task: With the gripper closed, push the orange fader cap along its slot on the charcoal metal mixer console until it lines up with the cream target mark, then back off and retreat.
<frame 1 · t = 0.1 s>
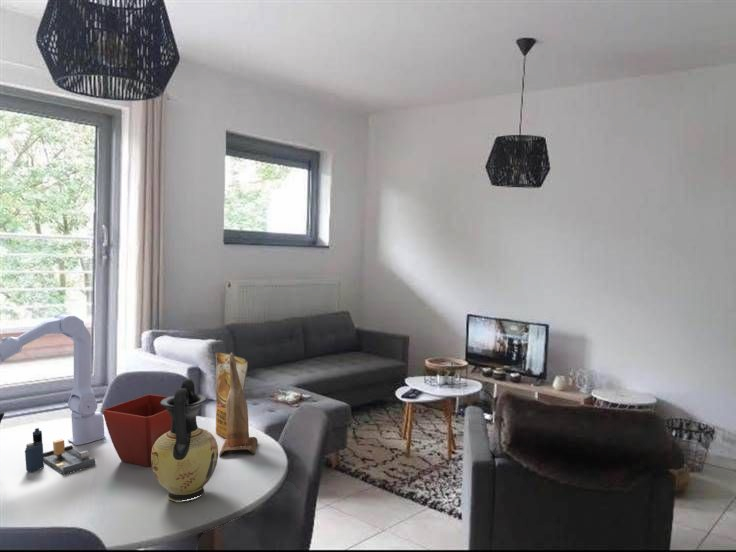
mixer console: (68, 462, 175), on the table
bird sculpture: (239, 450, 182), on the table
pancake mix bag: (230, 435, 196), on the table
plant pot: (151, 457, 178), on the table
amphora: (187, 495, 150), on the table
vaping device: (35, 470, 170), on the table
orange fader: (59, 448, 177), point 4 cm above the table, slide at 0.0 cm
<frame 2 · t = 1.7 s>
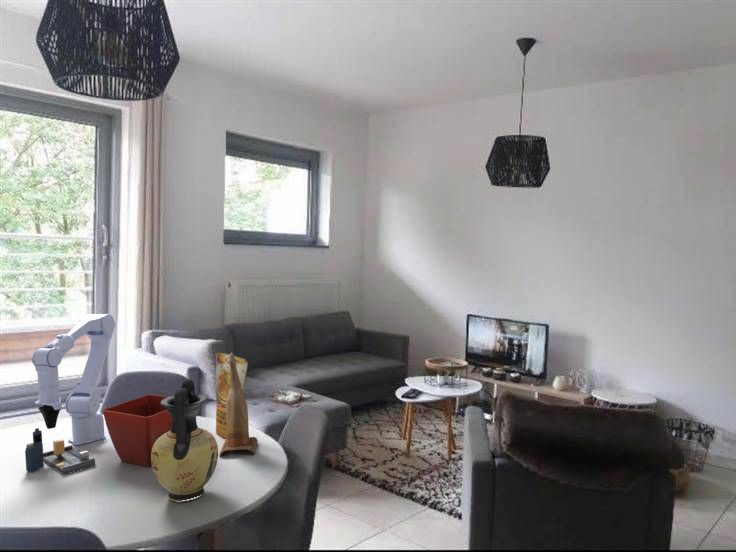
hand: (51, 427, 180), 9 cm above the table, fingers closed
nothing on the table moved.
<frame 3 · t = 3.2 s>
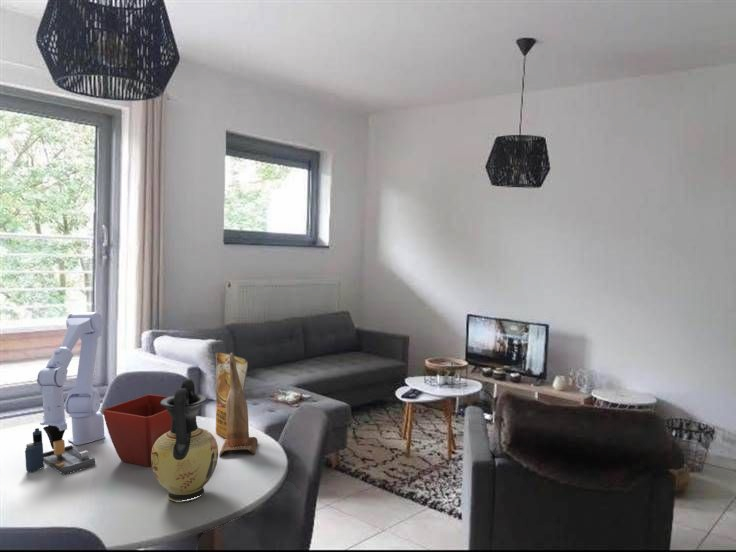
hand: (56, 448, 178), 3 cm above the table, fingers closed
orange fader: (59, 448, 176), point 4 cm above the table, slide at 0.2 cm, touching gripper
everything else where it was.
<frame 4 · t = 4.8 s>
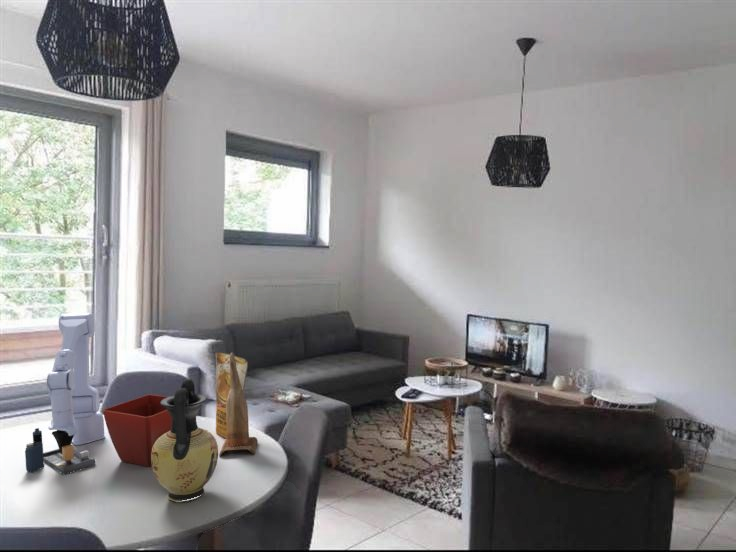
hand: (65, 453, 173), 3 cm above the table, fingers closed
orange fader: (68, 454, 172), point 4 cm above the table, slide at 7.2 cm, touching gripper
everything else where it was.
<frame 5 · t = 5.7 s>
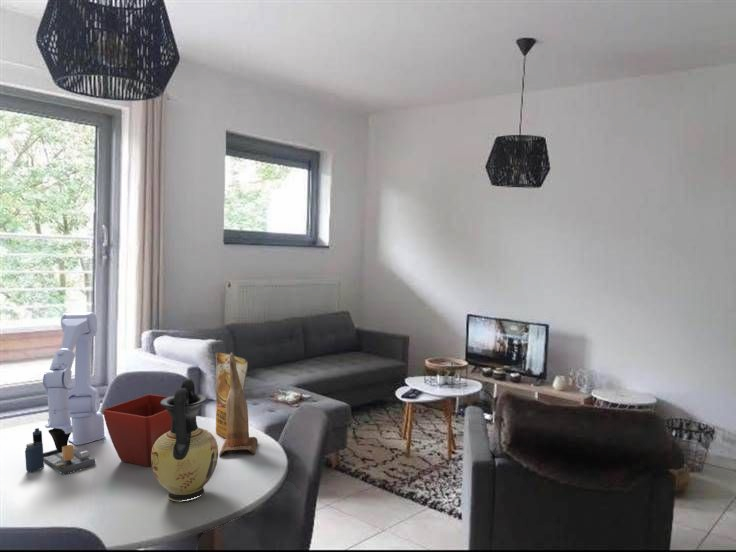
hand: (61, 451, 175), 3 cm above the table, fingers closed
orange fader: (68, 454, 172), point 4 cm above the table, slide at 7.2 cm
everything else where it was.
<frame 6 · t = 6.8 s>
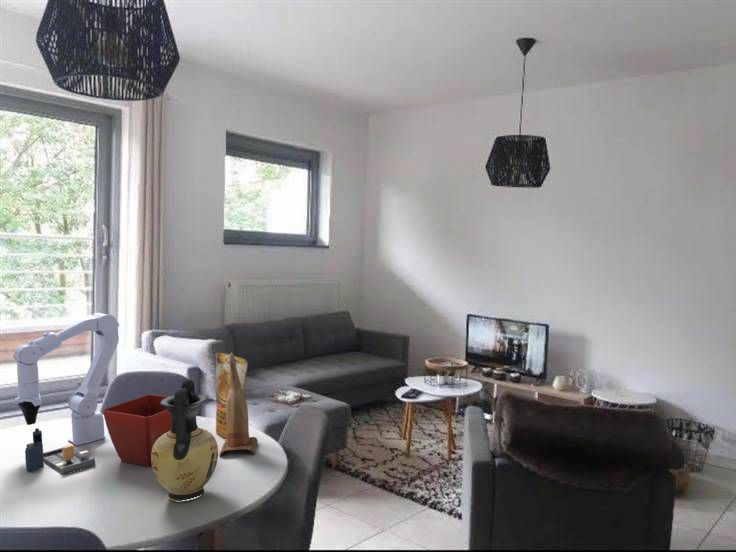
hand: (31, 423, 182), 10 cm above the table, fingers closed
nothing on the table moved.
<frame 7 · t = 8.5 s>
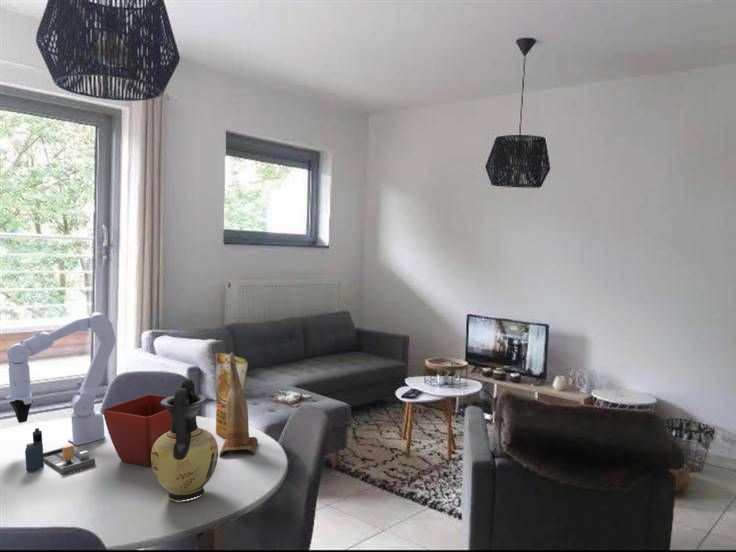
hand: (22, 421, 184), 10 cm above the table, fingers closed
nothing on the table moved.
at the end: orange fader slide at 7.2 cm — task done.
